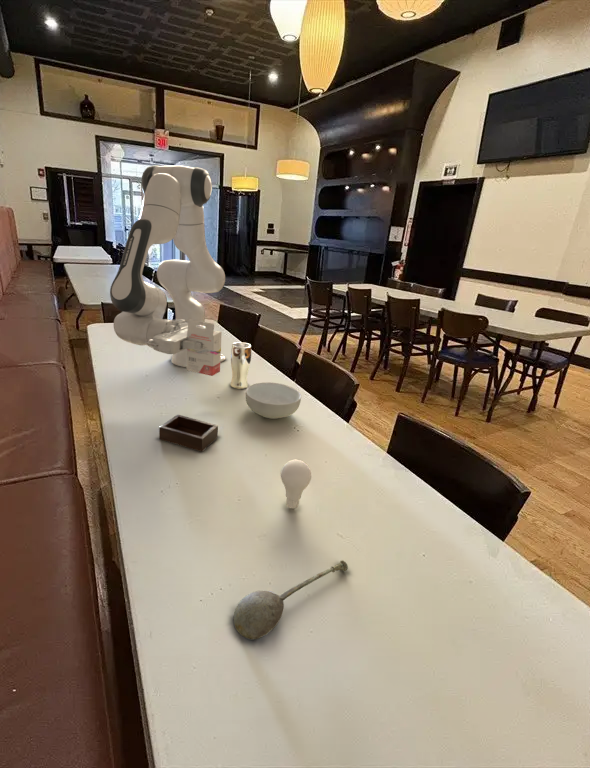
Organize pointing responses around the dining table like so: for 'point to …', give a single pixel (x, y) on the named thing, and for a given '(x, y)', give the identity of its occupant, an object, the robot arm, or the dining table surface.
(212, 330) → the ink cartridge box
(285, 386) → the cereal bowl
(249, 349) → the beer glass
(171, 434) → the tray
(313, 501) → the dining table surface
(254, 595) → the soupspoon
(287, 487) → the lightbulb
